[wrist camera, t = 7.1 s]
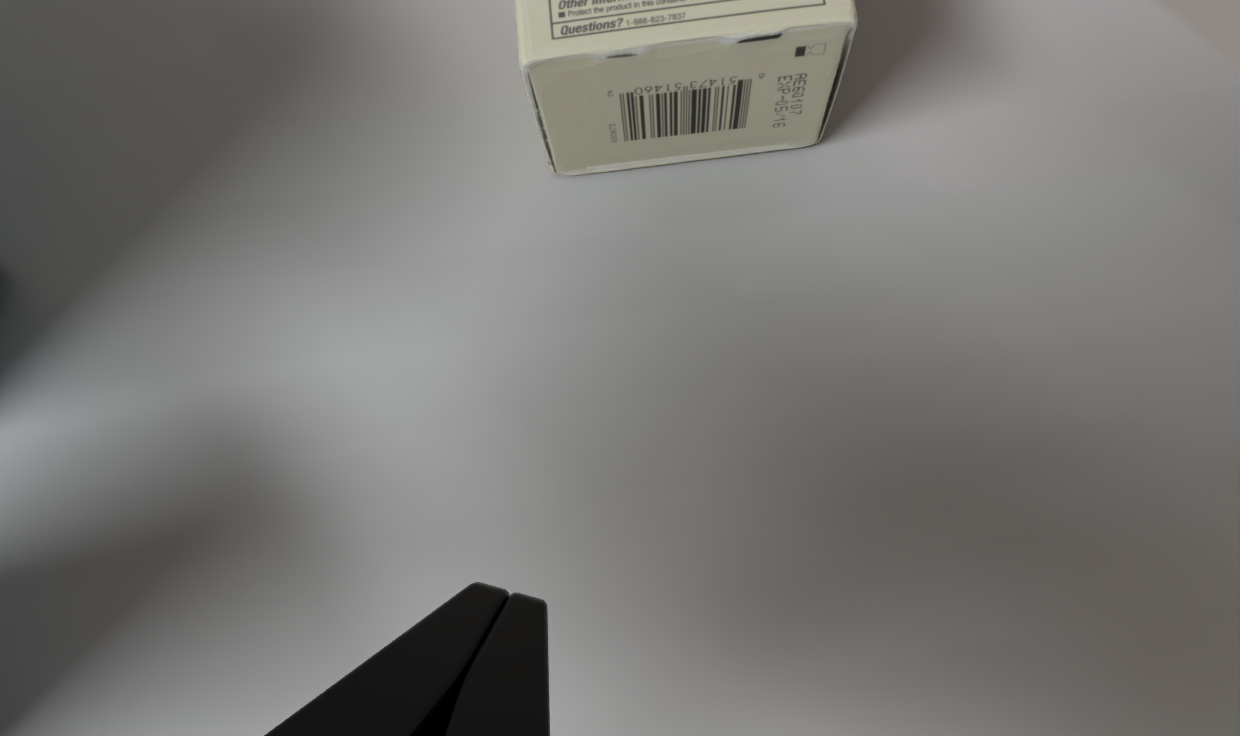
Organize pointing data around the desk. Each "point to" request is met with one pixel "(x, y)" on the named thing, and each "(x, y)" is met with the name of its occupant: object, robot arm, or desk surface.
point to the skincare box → (679, 77)
